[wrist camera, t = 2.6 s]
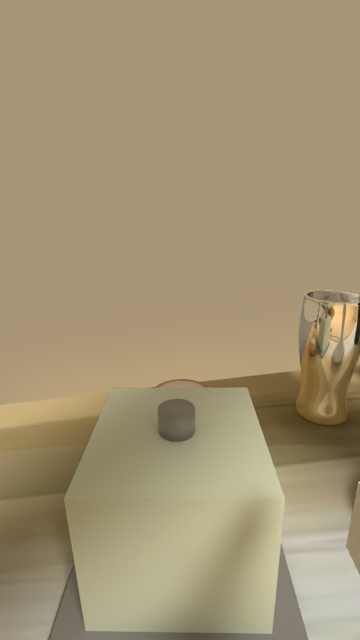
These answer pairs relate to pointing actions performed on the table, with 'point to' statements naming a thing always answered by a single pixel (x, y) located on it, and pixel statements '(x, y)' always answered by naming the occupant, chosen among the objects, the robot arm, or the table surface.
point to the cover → (176, 514)
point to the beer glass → (327, 354)
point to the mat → (285, 634)
